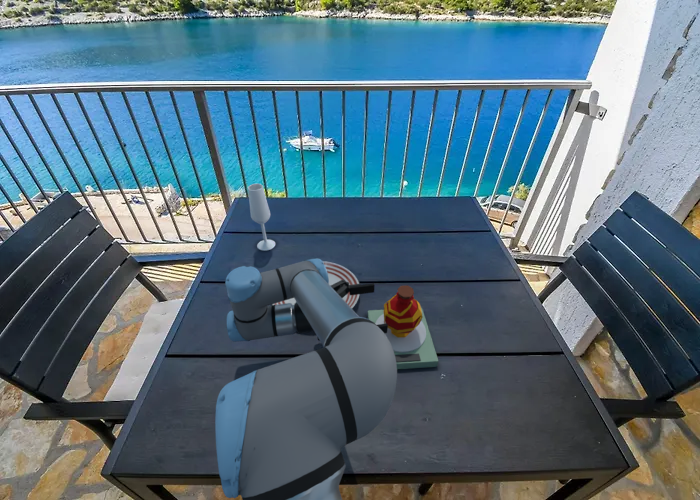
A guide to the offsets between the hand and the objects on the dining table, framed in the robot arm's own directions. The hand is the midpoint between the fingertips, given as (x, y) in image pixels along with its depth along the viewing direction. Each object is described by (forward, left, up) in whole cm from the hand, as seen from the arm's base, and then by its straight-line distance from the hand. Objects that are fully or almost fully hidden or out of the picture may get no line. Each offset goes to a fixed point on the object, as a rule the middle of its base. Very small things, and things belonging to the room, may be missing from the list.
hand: (380, 306), depth 87 cm
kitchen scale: (-4, -5, -14) cm, 15 cm away
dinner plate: (+24, +4, -14) cm, 28 cm away
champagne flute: (+57, +4, -14) cm, 59 cm away
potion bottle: (-3, -6, -11) cm, 12 cm away
